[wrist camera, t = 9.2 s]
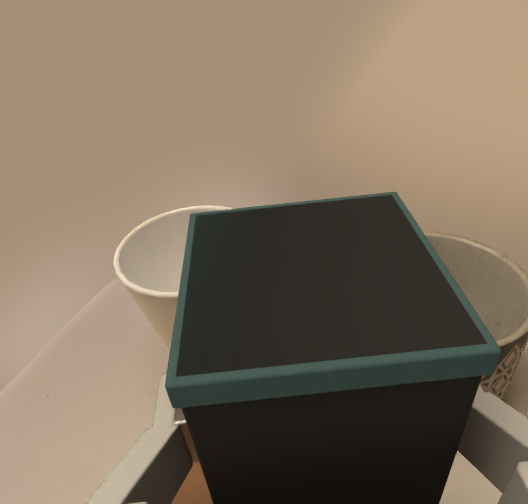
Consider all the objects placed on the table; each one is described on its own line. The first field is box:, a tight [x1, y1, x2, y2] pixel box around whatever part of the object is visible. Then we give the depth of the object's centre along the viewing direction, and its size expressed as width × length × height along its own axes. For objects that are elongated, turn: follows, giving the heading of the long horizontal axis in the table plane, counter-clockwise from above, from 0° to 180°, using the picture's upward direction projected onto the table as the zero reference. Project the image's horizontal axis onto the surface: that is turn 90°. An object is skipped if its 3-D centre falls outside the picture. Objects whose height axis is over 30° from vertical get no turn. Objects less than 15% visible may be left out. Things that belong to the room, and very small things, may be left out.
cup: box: [113, 206, 233, 350], centre depth 37 cm, size 12×12×12 cm
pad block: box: [165, 192, 501, 504], centre depth 12 cm, size 5×5×10 cm
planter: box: [423, 232, 528, 400], centre depth 34 cm, size 13×13×10 cm
